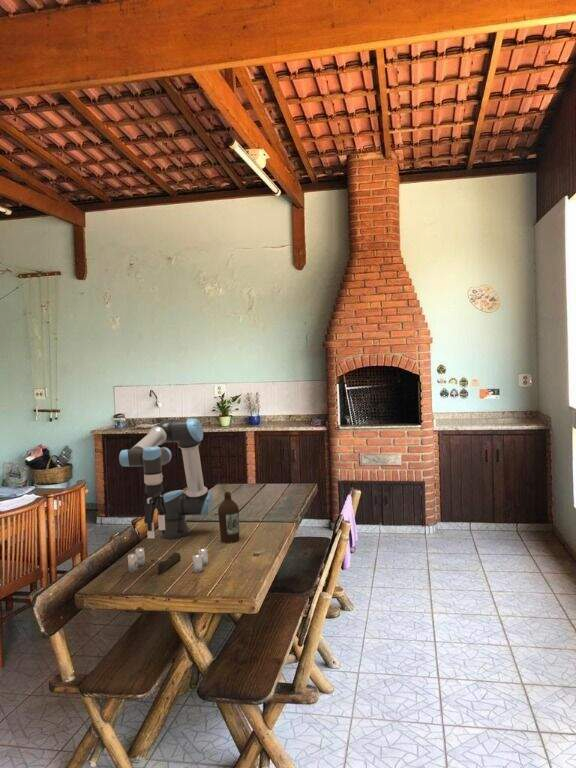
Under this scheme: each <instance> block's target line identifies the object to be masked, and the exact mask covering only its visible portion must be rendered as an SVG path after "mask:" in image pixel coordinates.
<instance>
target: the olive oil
mask: <svg viewBox="0 0 576 768" xmlns="http://www.w3.org/2000/svg"><path fill="white" fill-rule="evenodd" d="M223 496H224V499H223V501H221V503H220V504H219V506H218V509H217V514H218V523H219V535H220V542H221V541H222V543H223V542H225V543H224V544H231V543H230V542H233V543H236V541H237V542H238V541H239V540H240V508H239V505H238V504H237V503H236V502H235V501H234V500H233V499H232V495H231V490H226V491H224V493H223Z"/></svg>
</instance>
